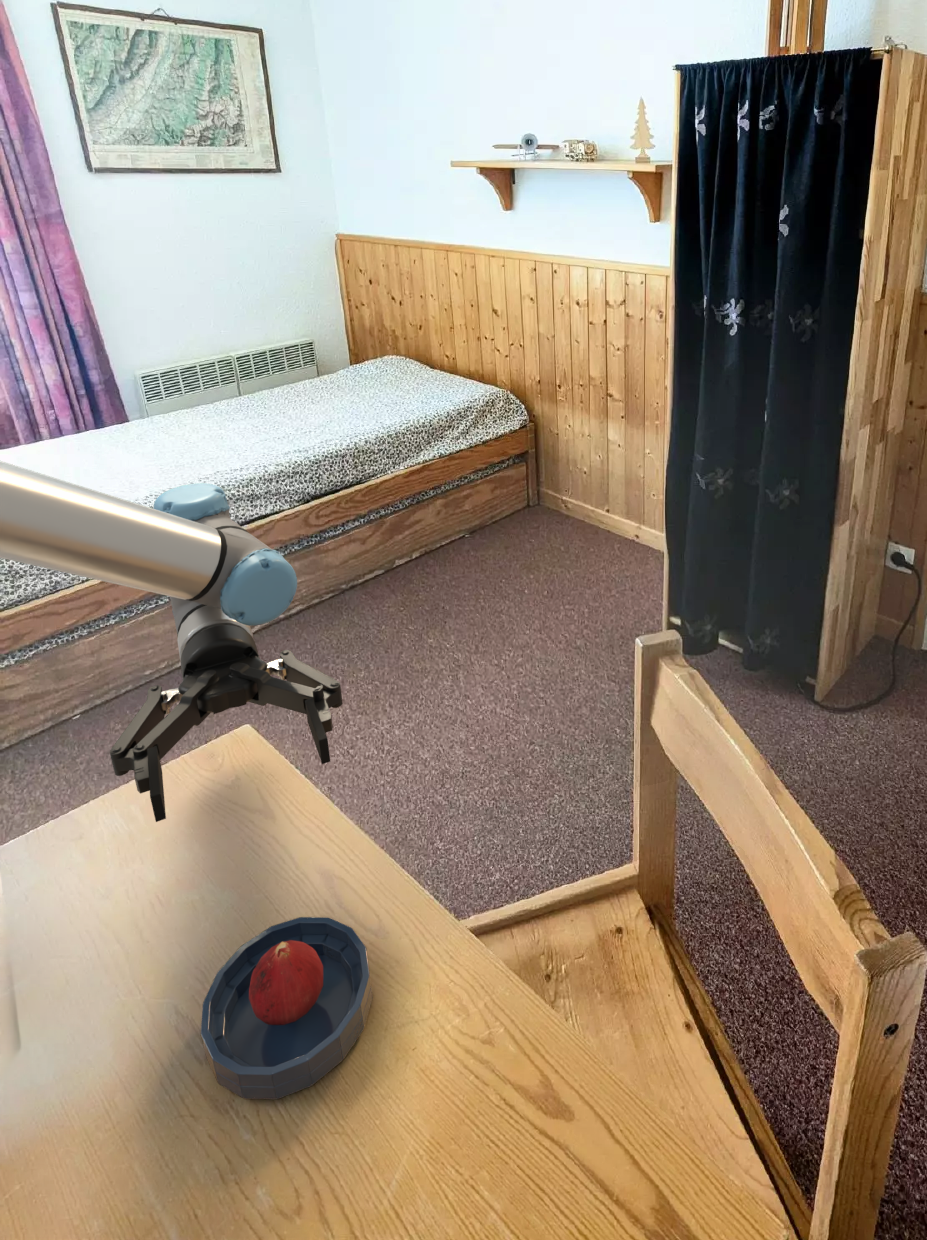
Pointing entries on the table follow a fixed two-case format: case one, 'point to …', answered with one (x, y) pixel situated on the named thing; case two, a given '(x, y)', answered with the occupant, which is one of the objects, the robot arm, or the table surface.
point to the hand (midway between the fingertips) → (245, 778)
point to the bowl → (299, 1050)
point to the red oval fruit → (286, 983)
